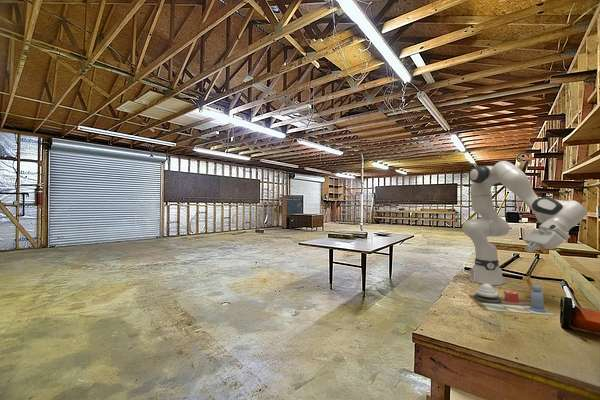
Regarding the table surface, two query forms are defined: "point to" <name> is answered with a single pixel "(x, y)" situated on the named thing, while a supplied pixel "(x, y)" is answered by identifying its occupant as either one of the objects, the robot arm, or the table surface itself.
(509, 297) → the red die
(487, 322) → the table surface
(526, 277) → the figurine
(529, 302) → the game board
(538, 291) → the pawn
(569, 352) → the table surface
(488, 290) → the dome
